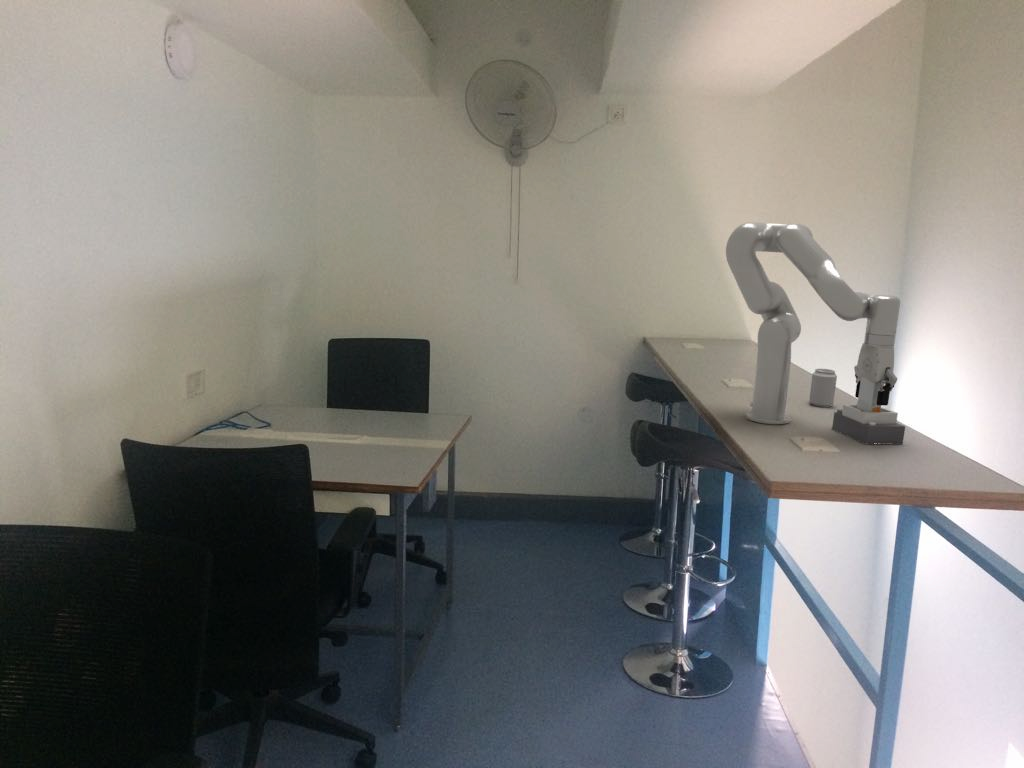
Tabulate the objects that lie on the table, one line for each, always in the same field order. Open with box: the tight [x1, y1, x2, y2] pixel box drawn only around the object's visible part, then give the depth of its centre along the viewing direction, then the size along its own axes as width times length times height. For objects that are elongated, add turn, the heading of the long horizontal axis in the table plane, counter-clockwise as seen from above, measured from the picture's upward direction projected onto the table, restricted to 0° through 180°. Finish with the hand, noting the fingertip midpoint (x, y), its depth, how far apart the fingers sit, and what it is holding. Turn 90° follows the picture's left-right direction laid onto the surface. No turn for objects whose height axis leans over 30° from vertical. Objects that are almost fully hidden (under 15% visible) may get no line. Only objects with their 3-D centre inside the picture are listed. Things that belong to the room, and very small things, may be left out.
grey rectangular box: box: [831, 404, 906, 445], centre depth 211 cm, size 16×11×8 cm
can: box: [808, 368, 838, 408], centre depth 248 cm, size 8×8×12 cm
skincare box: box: [856, 377, 885, 412], centre depth 210 cm, size 6×4×12 cm
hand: (871, 401), depth 210 cm, fingers open, 9 cm apart
